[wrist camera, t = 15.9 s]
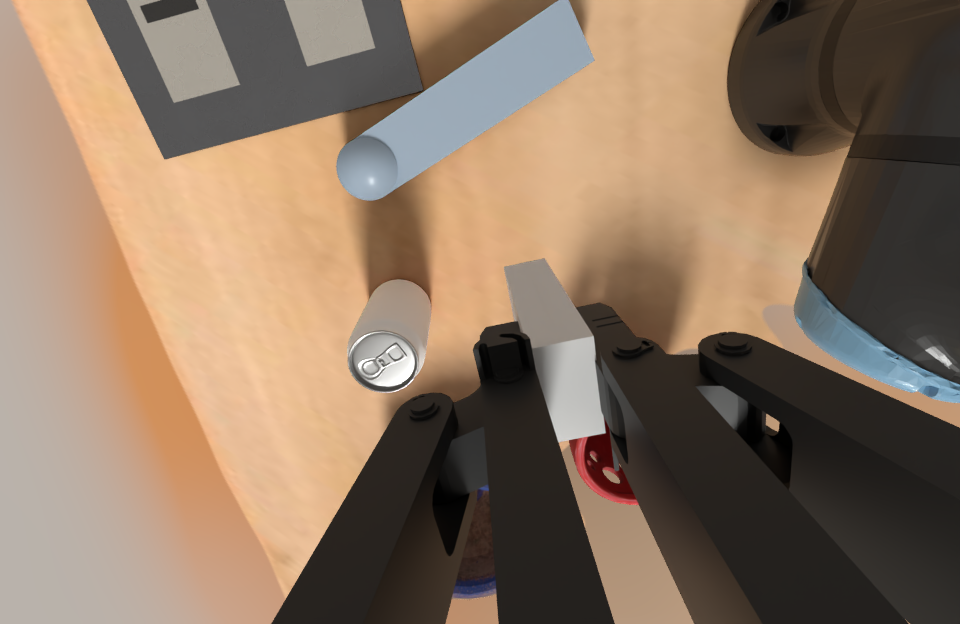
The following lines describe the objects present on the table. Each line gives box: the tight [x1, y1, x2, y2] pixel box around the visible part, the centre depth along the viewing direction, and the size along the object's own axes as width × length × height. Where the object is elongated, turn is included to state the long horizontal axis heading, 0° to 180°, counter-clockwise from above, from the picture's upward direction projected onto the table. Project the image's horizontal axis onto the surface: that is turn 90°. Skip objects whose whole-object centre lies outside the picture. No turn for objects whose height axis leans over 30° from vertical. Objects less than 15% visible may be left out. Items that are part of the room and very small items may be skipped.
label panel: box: [87, 0, 423, 159], centre depth 37 cm, size 24×16×1 cm, turn 104°
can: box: [347, 279, 431, 393], centre depth 41 cm, size 6×6×12 cm
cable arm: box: [336, 0, 595, 201], centre depth 37 cm, size 5×22×3 cm, turn 121°
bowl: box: [452, 485, 496, 600], centre depth 51 cm, size 18×18×10 cm
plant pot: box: [569, 418, 639, 505], centre depth 46 cm, size 13×13×12 cm
